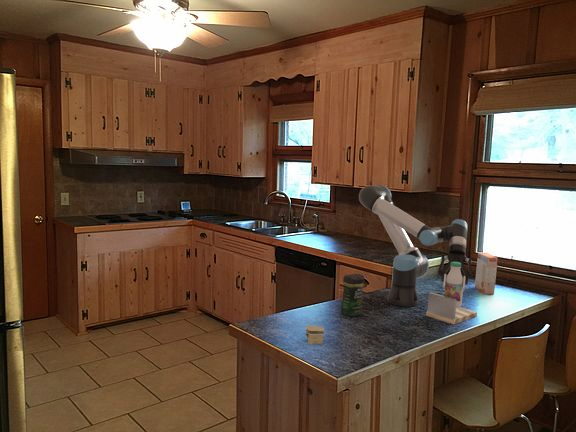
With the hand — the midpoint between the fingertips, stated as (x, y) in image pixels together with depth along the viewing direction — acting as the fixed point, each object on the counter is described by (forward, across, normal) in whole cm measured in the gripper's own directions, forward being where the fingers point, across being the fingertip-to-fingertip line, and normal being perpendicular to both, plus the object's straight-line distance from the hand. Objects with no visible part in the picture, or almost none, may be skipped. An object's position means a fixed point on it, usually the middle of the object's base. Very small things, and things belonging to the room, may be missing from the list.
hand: (453, 288), depth 212 cm
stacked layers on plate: (+49, +48, +29) cm, 74 cm away
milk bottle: (+4, 0, -9) cm, 9 cm away
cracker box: (-33, -15, -54) cm, 65 cm away
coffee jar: (+21, +43, +1) cm, 48 cm away
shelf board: (+7, 0, -13) cm, 15 cm away
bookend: (+11, +5, -6) cm, 14 cm away
